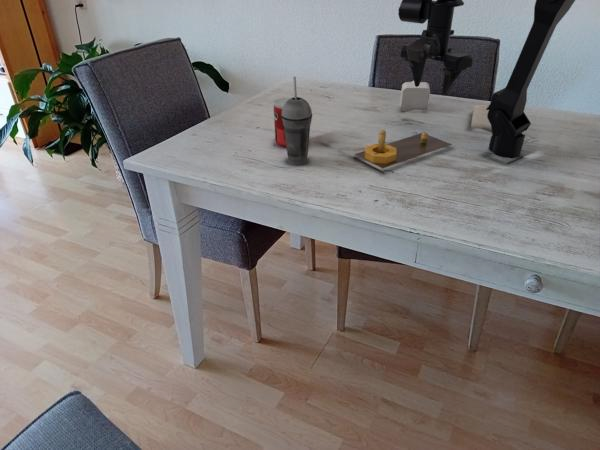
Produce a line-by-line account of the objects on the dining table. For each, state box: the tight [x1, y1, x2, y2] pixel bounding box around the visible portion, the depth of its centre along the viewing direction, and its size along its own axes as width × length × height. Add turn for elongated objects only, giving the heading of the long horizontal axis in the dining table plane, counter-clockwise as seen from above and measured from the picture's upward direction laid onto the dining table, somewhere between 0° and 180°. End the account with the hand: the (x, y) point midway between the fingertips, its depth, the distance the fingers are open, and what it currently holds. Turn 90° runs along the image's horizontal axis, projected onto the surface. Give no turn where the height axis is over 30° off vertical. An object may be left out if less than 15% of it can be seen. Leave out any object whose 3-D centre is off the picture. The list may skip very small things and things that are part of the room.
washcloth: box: [470, 104, 492, 133], centre depth 130 cm, size 12×18×3 cm, turn 159°
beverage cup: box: [281, 76, 313, 166], centre depth 105 cm, size 7×7×20 cm
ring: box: [364, 143, 397, 164], centre depth 109 cm, size 7×7×2 cm
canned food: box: [273, 97, 292, 149], centre depth 118 cm, size 8×8×11 cm
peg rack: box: [353, 129, 452, 174], centre depth 111 cm, size 10×24×8 cm, turn 125°
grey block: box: [399, 80, 431, 113], centre depth 141 cm, size 8×10×10 cm
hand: (430, 90), depth 118 cm, fingers open, 9 cm apart
